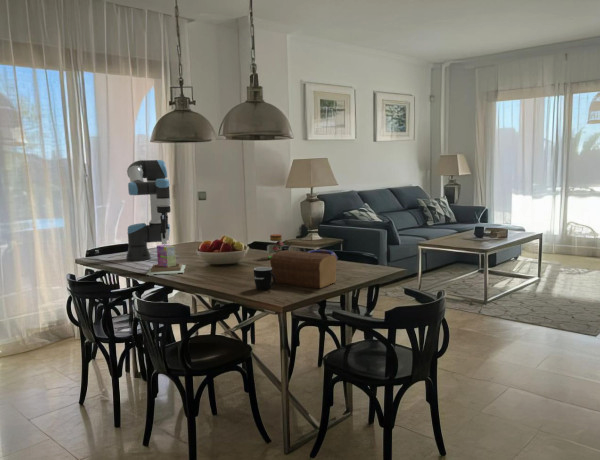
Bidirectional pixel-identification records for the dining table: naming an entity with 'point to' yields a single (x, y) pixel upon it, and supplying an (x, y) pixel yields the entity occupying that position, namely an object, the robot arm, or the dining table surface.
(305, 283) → the wooden bread box
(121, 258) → the dining table surface
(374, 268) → the dining table surface
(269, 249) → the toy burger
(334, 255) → the bowl
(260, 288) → the mug
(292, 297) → the dining table surface
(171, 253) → the box
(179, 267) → the white shallow tray
